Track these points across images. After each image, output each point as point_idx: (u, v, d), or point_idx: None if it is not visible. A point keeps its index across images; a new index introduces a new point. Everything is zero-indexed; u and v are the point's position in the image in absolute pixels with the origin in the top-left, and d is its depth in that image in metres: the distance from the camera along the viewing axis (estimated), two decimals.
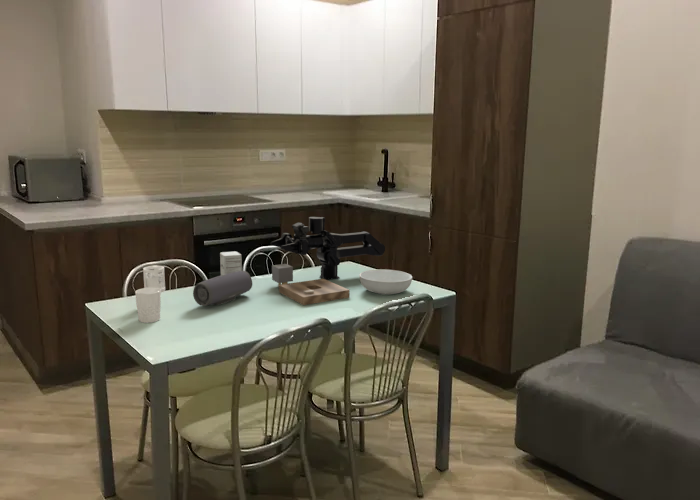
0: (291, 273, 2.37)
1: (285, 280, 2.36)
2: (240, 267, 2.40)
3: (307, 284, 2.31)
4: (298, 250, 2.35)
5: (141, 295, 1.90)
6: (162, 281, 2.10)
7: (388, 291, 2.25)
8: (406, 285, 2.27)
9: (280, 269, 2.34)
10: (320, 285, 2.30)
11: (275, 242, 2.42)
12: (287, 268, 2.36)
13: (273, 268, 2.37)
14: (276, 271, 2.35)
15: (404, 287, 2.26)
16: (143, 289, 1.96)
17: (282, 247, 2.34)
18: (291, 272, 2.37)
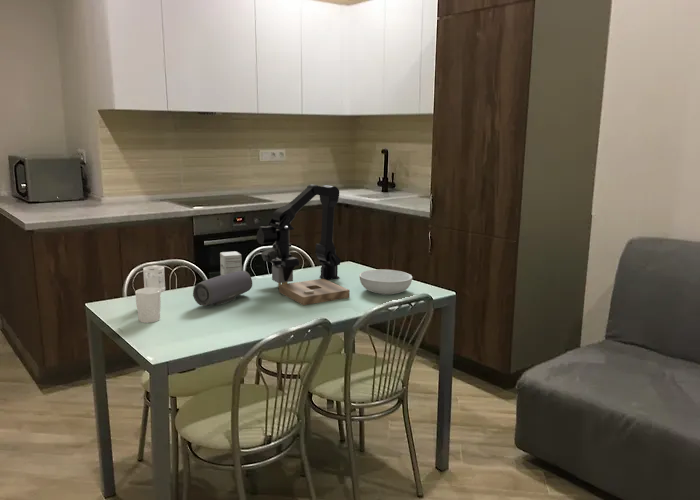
0: (291, 273, 2.37)
1: None
2: (240, 267, 2.40)
3: (307, 284, 2.31)
4: (292, 266, 2.33)
5: (141, 295, 1.90)
6: (162, 281, 2.10)
7: (388, 291, 2.25)
8: (406, 285, 2.27)
9: (280, 269, 2.34)
10: (320, 285, 2.30)
11: None
12: None
13: (273, 268, 2.37)
14: (276, 271, 2.35)
15: (404, 287, 2.26)
16: (143, 289, 1.96)
17: (286, 279, 2.36)
18: (291, 272, 2.37)
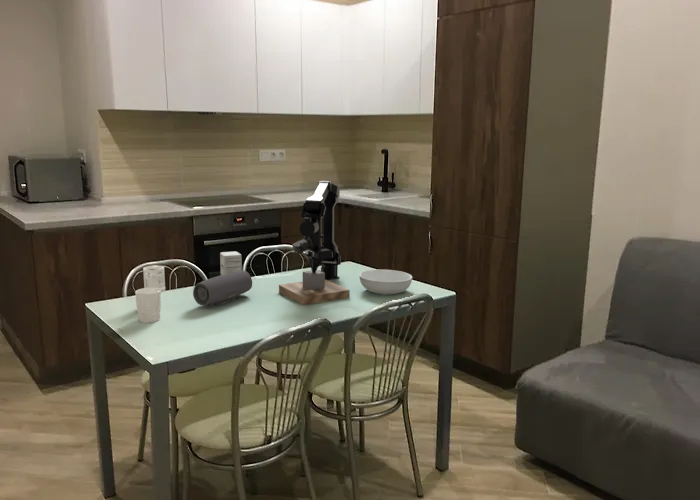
0: (323, 280, 2.26)
1: (317, 287, 2.25)
2: (240, 267, 2.40)
3: None
4: None
5: (141, 295, 1.90)
6: (162, 281, 2.10)
7: (388, 291, 2.25)
8: (406, 285, 2.27)
9: (312, 276, 2.23)
10: None
11: None
12: (319, 274, 2.24)
13: (304, 274, 2.26)
14: (307, 278, 2.24)
15: (404, 287, 2.26)
16: (143, 289, 1.96)
17: (314, 271, 2.26)
18: (323, 278, 2.25)
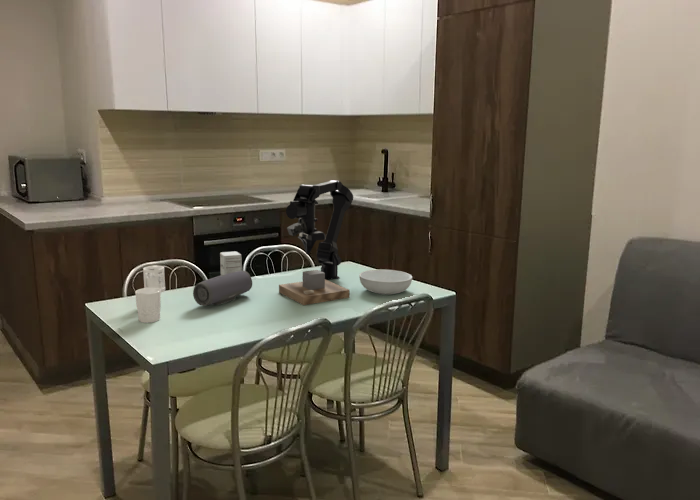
0: (323, 280, 2.26)
1: (317, 287, 2.25)
2: (240, 267, 2.40)
3: None
4: None
5: (141, 295, 1.90)
6: (162, 281, 2.10)
7: (388, 291, 2.25)
8: (406, 285, 2.27)
9: (312, 276, 2.23)
10: None
11: None
12: (319, 274, 2.24)
13: (304, 274, 2.26)
14: (307, 278, 2.24)
15: (404, 287, 2.26)
16: (143, 289, 1.96)
17: (308, 253, 2.39)
18: (323, 278, 2.25)
